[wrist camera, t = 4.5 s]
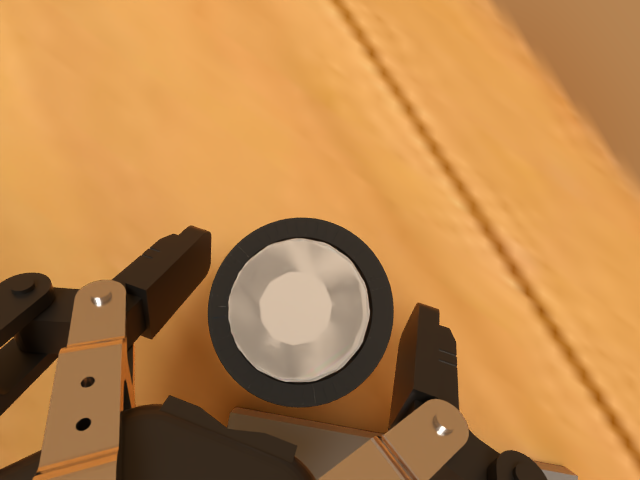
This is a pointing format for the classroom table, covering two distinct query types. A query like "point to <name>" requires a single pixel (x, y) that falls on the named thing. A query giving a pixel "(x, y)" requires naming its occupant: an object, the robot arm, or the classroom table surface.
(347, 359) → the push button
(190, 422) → the robot arm
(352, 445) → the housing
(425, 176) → the classroom table surface
